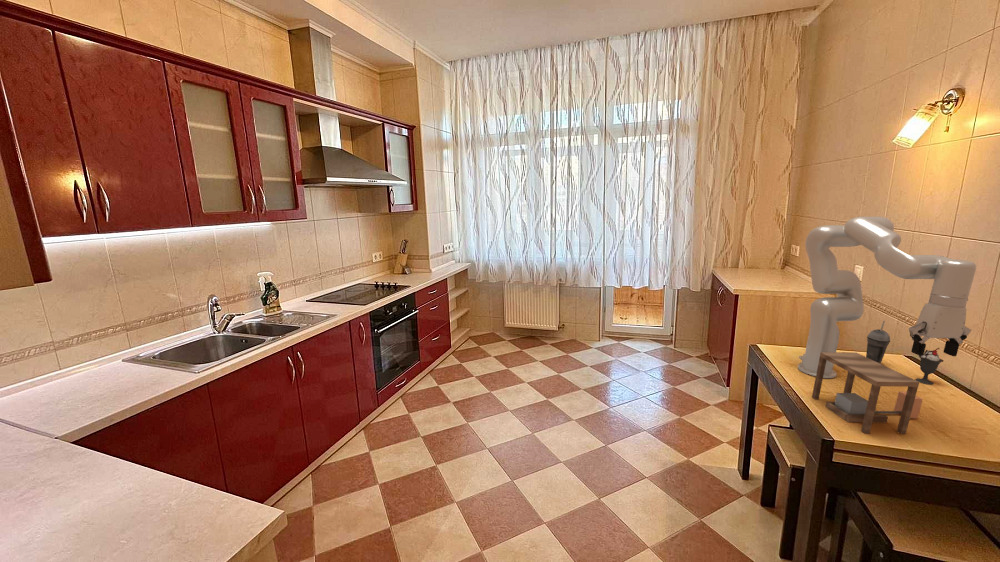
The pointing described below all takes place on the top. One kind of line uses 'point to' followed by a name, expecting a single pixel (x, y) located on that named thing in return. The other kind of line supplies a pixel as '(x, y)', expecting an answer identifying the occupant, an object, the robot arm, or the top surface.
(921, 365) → the sundae
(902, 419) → the wooden side table
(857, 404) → the lopsided dumbbell
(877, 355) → the beverage cup
